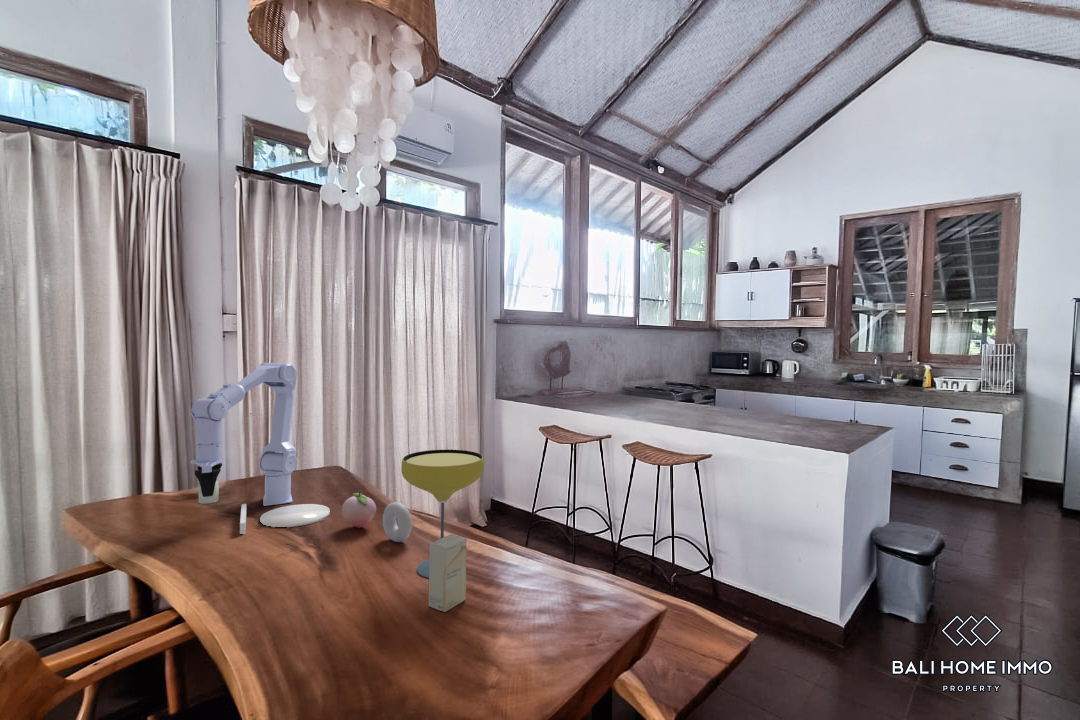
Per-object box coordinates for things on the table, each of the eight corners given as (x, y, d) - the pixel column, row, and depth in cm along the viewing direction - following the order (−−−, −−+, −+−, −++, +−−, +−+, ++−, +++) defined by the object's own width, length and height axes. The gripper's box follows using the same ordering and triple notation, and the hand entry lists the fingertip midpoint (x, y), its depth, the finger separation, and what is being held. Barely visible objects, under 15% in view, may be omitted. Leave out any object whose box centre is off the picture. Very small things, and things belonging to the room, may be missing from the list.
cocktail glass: (395, 558, 114) (396, 451, 113) (470, 547, 121) (471, 447, 120) (406, 594, 97) (407, 469, 97) (492, 578, 104) (494, 463, 104)
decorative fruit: (335, 527, 132) (335, 491, 132) (363, 520, 138) (364, 485, 138) (351, 537, 126) (352, 498, 126) (380, 529, 132) (381, 492, 132)
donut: (379, 538, 125) (379, 500, 125) (390, 534, 128) (391, 497, 128) (403, 548, 119) (404, 508, 119) (414, 544, 122) (415, 504, 122)
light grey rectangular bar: (241, 514, 142) (241, 504, 142) (246, 513, 142) (246, 503, 142) (239, 534, 126) (240, 523, 126) (245, 534, 127) (245, 522, 127)
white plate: (259, 512, 144) (259, 509, 144) (325, 503, 153) (325, 500, 153) (260, 531, 128) (260, 528, 128) (333, 521, 137) (333, 518, 137)
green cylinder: (199, 499, 131) (199, 481, 131) (219, 497, 133) (219, 479, 133) (197, 504, 127) (197, 485, 127) (217, 502, 129) (218, 483, 129)
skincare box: (444, 613, 90) (445, 548, 90) (427, 606, 93) (428, 543, 92) (466, 599, 96) (467, 537, 95) (449, 593, 98) (450, 533, 98)
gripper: (193, 439, 134) (193, 488, 134) (187, 449, 121) (187, 503, 122) (224, 437, 138) (223, 485, 138) (221, 447, 125) (220, 499, 125)
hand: (208, 493), depth 130 cm, fingers closed on green cylinder, 4 cm apart
